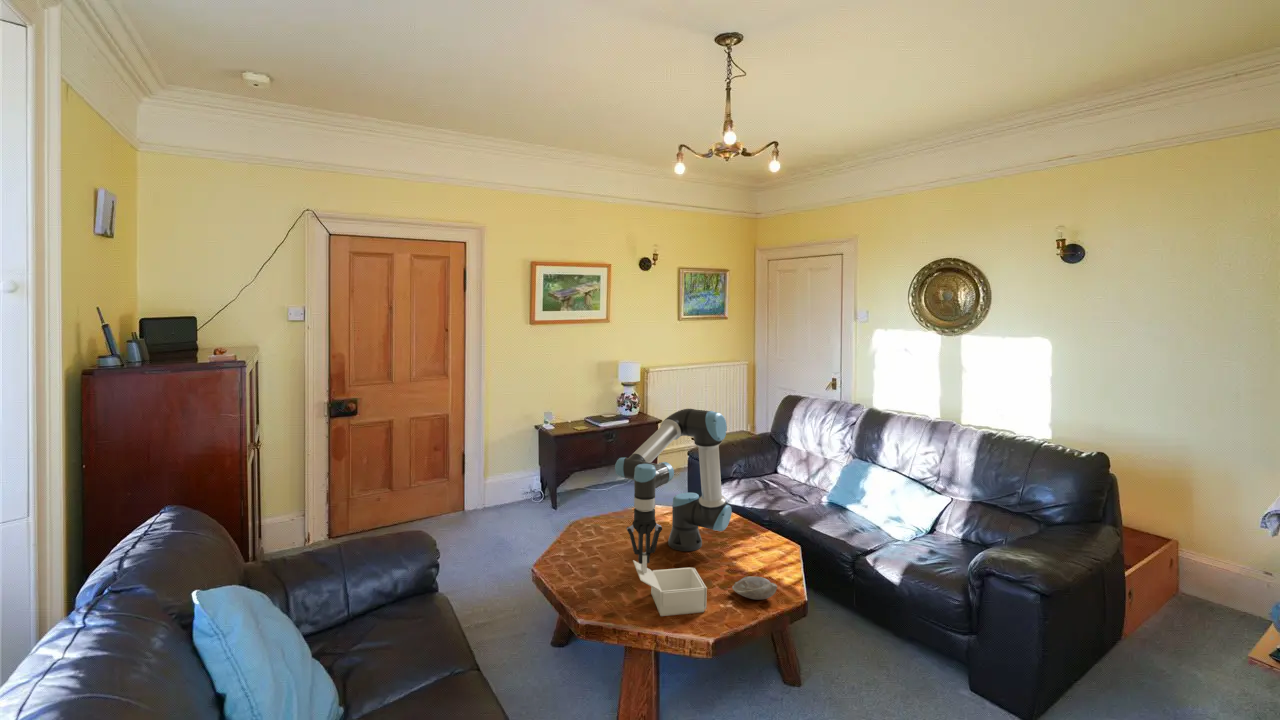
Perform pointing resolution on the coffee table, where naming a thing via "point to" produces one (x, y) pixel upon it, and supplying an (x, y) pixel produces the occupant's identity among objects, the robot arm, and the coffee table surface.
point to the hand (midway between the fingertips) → (643, 571)
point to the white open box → (679, 591)
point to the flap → (646, 576)
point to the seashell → (755, 587)
